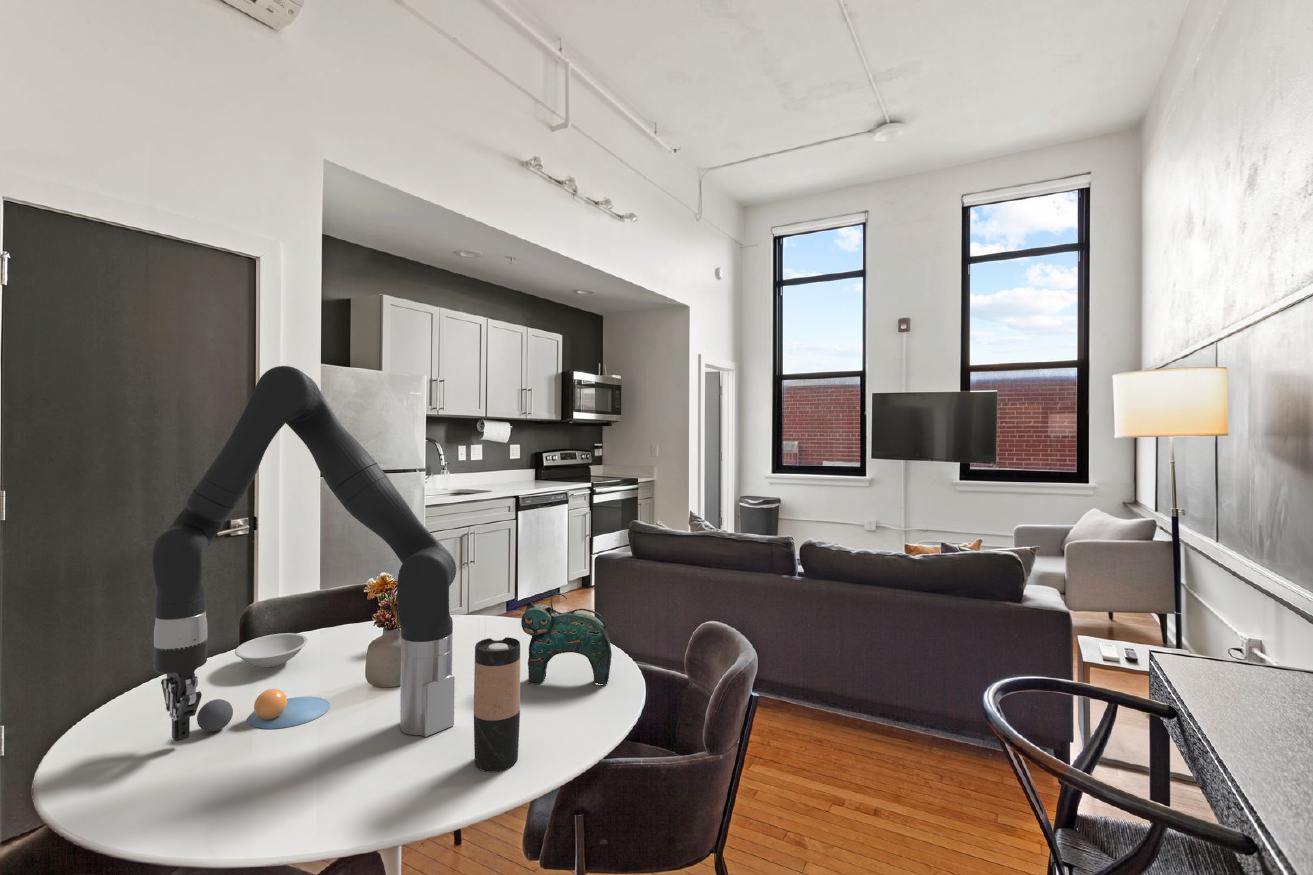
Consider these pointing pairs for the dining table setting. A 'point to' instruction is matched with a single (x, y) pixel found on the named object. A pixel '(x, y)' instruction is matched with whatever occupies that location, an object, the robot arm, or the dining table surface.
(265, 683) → the dining table surface
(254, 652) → the dish
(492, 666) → the travel mug
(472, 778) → the dining table surface
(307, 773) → the dining table surface
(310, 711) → the blue mark
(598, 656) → the ceramic cat
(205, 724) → the gray ball
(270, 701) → the orange ball
